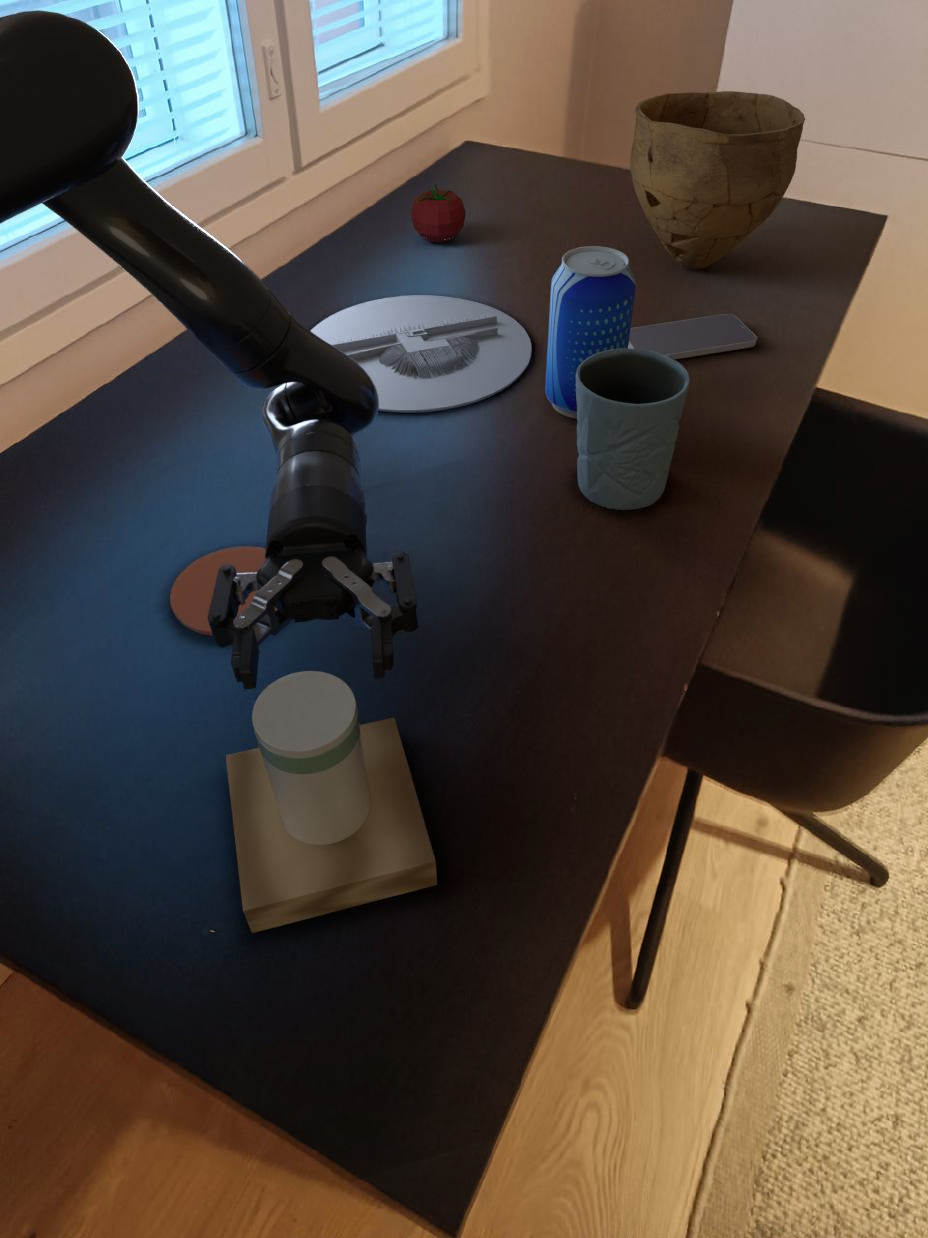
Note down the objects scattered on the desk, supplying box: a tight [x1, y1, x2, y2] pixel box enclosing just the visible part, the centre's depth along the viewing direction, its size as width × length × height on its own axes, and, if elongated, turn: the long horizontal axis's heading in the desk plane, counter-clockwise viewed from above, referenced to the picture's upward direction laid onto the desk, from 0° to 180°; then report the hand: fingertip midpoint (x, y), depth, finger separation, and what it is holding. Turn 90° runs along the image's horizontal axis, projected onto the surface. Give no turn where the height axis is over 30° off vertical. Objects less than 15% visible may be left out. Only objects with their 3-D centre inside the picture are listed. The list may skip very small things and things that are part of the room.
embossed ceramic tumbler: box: [576, 348, 691, 511], centre depth 84 cm, size 10×10×12 cm
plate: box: [310, 294, 532, 414], centre depth 108 cm, size 28×28×1 cm
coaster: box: [169, 546, 278, 637], centre depth 78 cm, size 11×11×1 cm
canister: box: [251, 670, 371, 845], centre depth 55 cm, size 6×6×10 cm
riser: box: [225, 717, 438, 934], centre depth 60 cm, size 12×12×3 cm
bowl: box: [629, 90, 806, 271], centre depth 116 cm, size 21×20×20 cm
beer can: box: [544, 245, 637, 420], centre depth 93 cm, size 8×8×16 cm
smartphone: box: [628, 313, 758, 360], centre depth 108 cm, size 7×1×15 cm
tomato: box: [410, 184, 467, 243], centre depth 128 cm, size 8×8×8 cm
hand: (313, 675), depth 58 cm, fingers open, 8 cm apart
